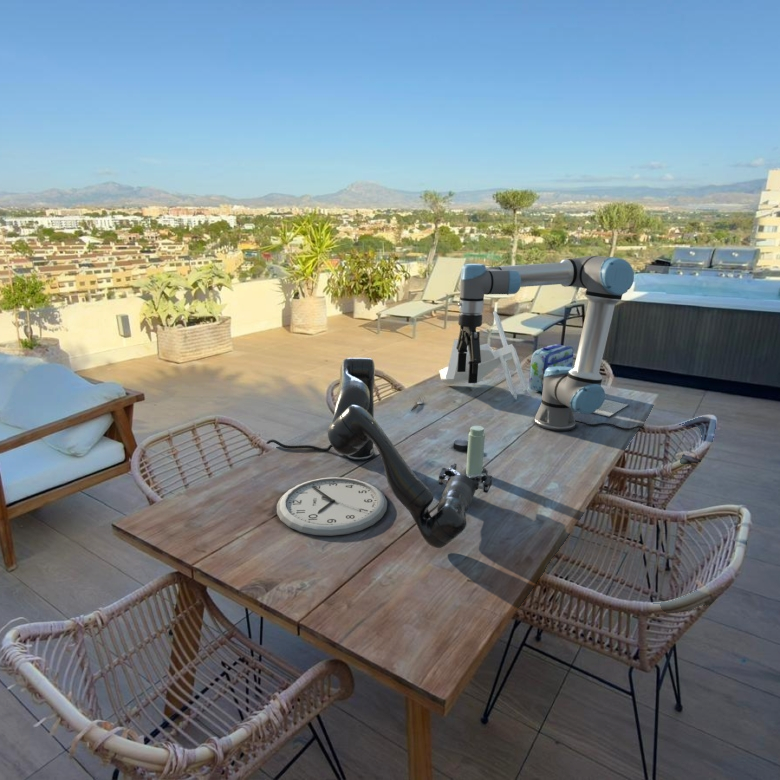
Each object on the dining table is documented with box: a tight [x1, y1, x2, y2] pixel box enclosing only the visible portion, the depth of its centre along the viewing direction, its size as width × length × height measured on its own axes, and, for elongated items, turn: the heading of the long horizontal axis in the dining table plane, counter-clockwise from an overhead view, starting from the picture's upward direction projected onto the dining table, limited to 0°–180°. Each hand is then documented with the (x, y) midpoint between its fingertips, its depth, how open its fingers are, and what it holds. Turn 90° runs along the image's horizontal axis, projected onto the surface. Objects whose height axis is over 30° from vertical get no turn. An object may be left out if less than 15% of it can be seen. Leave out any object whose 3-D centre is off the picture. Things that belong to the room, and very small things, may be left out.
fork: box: [410, 395, 425, 412], centre depth 222 cm, size 3×16×2 cm, turn 160°
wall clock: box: [276, 476, 388, 537], centre depth 142 cm, size 30×2×30 cm
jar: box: [465, 425, 486, 475], centre depth 160 cm, size 5×5×15 cm
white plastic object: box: [438, 310, 531, 400], centre depth 245 cm, size 37×45×31 cm
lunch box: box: [528, 344, 574, 393], centre depth 247 cm, size 26×11×21 cm, turn 134°
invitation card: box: [592, 398, 629, 418], centre depth 226 cm, size 21×1×15 cm
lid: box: [453, 439, 468, 452], centre depth 181 cm, size 6×6×2 cm
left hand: (469, 468), depth 152 cm, fingers open, 8 cm apart
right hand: (466, 377), depth 174 cm, fingers open, 13 cm apart
